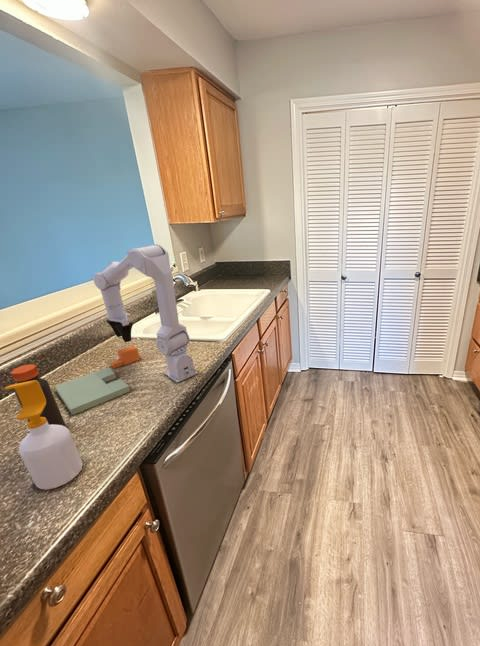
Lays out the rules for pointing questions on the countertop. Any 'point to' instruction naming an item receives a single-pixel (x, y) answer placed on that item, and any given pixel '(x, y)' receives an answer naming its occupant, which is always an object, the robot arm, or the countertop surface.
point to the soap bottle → (45, 441)
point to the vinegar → (51, 408)
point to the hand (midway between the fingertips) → (124, 338)
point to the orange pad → (126, 356)
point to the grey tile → (91, 390)
